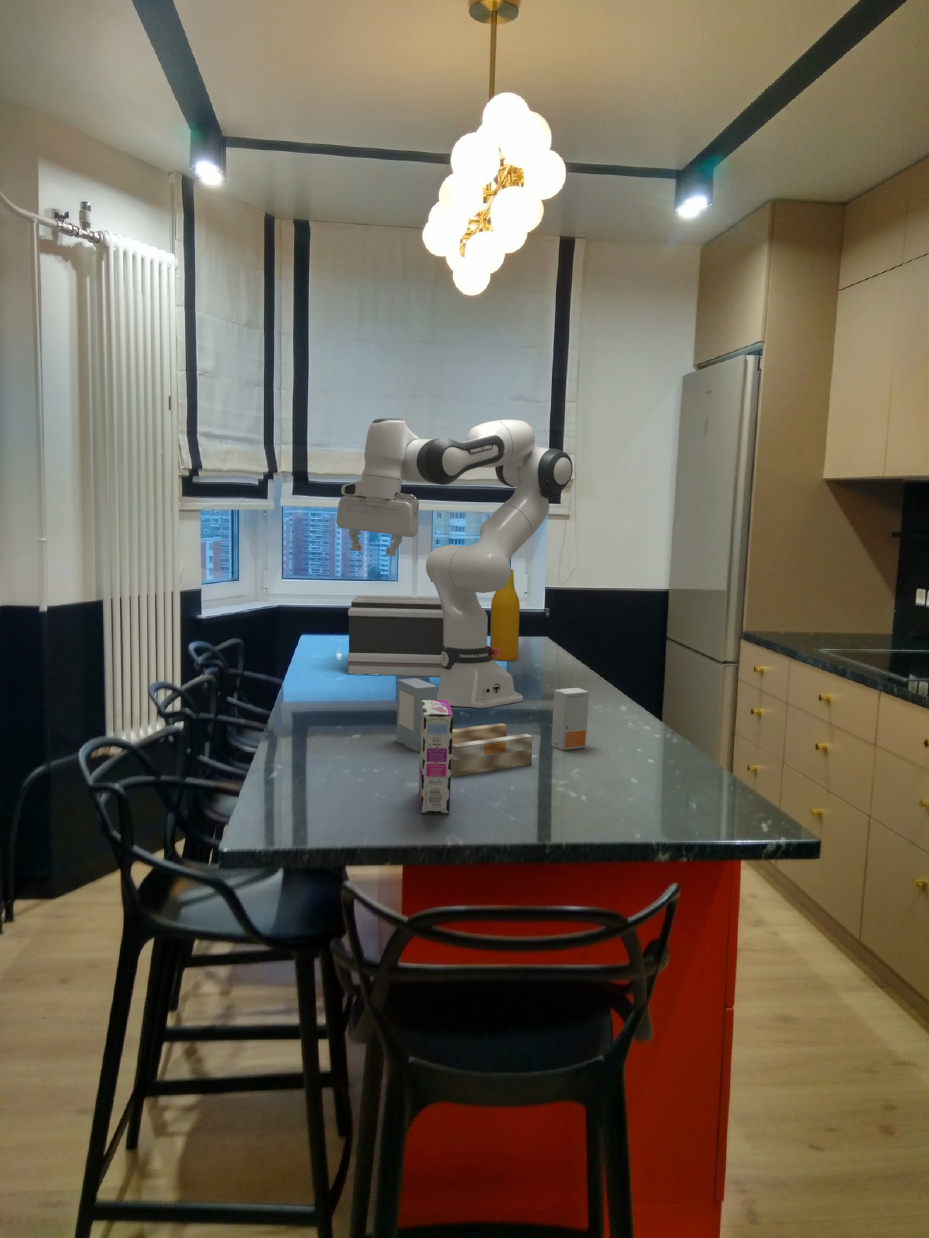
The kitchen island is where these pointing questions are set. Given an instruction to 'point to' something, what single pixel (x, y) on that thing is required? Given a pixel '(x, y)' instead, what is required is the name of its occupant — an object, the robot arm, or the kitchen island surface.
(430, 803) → the candy bar box
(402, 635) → the toaster
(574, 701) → the skincare box
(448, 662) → the robot arm
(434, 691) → the box
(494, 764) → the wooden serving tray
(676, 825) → the kitchen island surface
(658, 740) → the kitchen island surface
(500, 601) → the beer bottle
